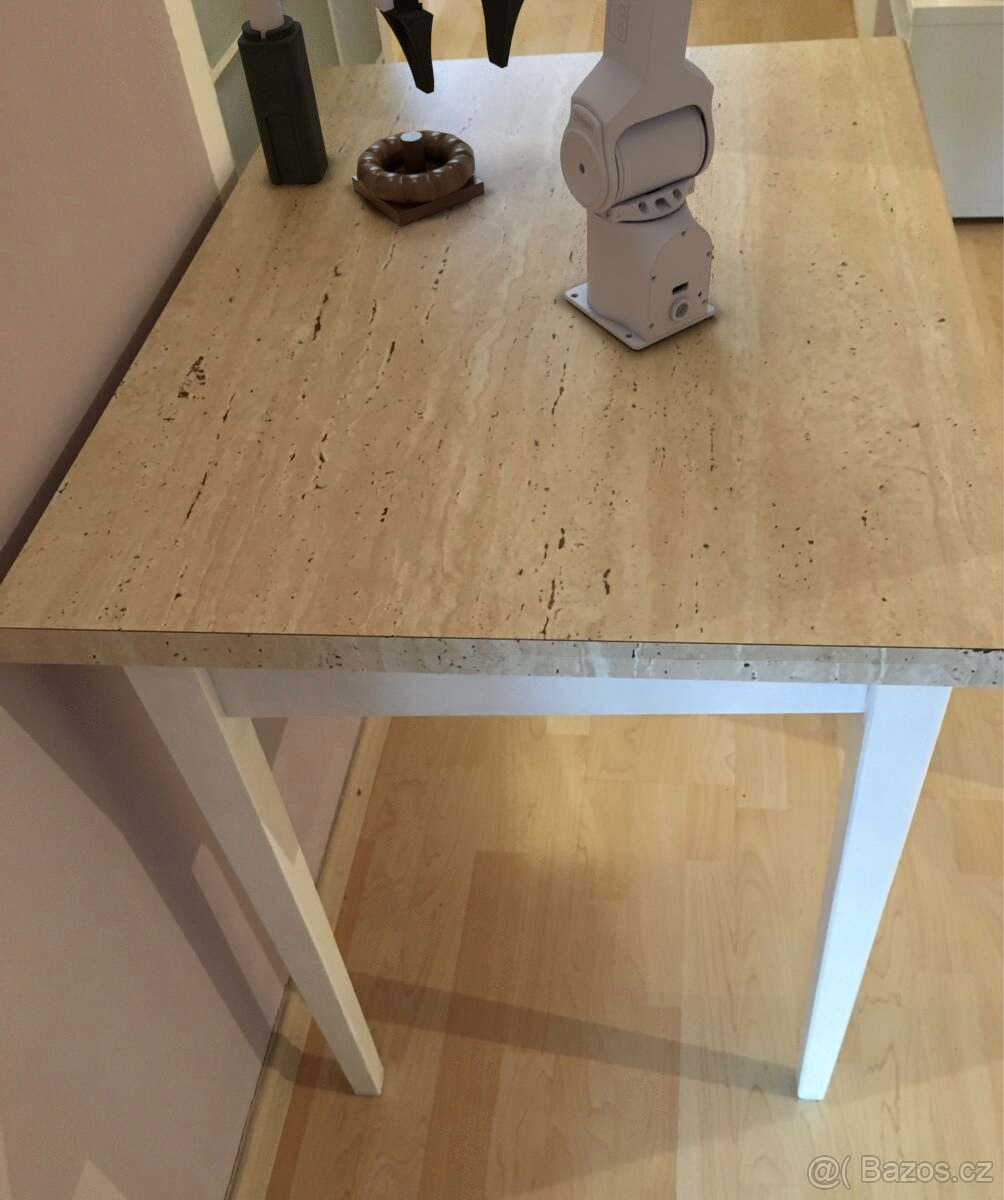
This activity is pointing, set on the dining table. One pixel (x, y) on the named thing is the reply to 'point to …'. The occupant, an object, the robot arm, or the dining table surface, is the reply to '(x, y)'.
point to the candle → (282, 94)
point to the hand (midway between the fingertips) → (462, 76)
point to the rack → (414, 165)
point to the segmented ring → (416, 185)
